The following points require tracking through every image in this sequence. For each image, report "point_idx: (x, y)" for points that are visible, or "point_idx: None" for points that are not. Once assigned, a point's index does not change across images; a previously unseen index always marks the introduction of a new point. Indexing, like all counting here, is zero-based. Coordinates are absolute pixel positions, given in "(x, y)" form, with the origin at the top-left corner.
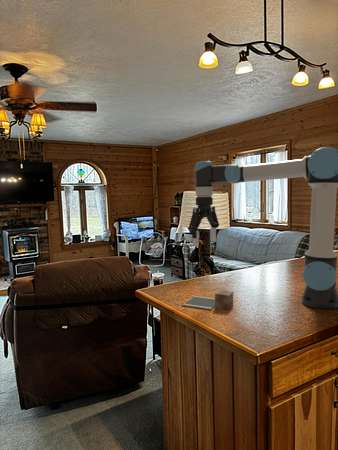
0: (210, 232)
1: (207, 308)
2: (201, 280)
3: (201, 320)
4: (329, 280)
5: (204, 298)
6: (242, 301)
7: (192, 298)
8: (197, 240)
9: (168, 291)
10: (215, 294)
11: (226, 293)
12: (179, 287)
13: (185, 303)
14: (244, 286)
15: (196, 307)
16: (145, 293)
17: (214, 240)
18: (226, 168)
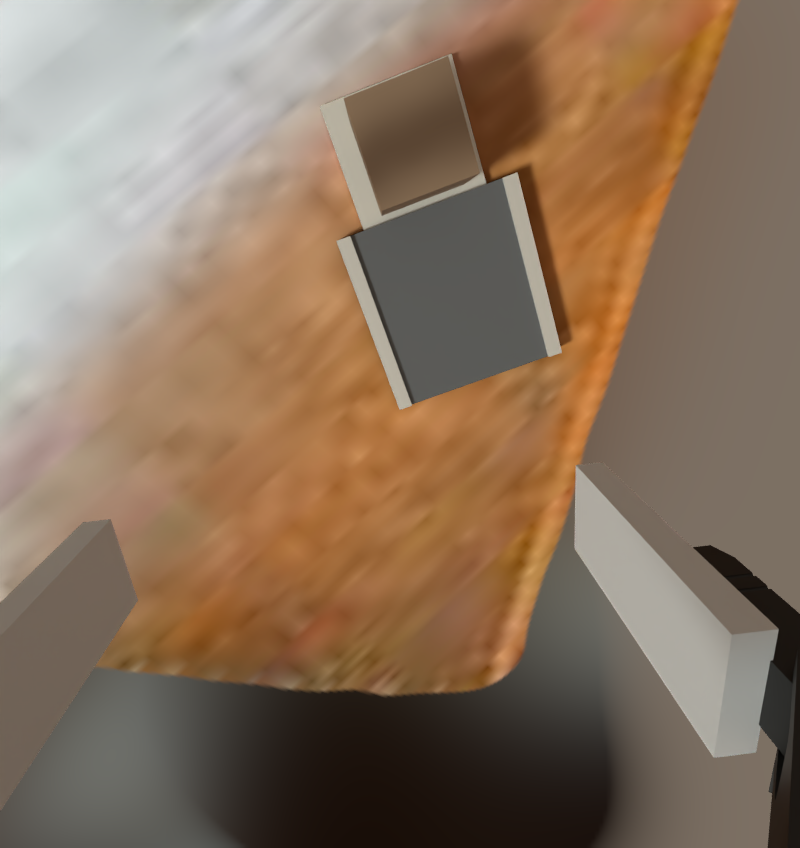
0: (48, 729)
1: (522, 195)
2: None
3: (660, 115)
4: None
5: (387, 340)
6: (220, 145)
7: (434, 392)
8: (642, 504)
9: (402, 589)
10: (477, 170)
11: (416, 109)
12: (305, 603)
13: (529, 358)
14: None
15: (538, 267)
16: (507, 636)
17: (103, 543)
18: None
